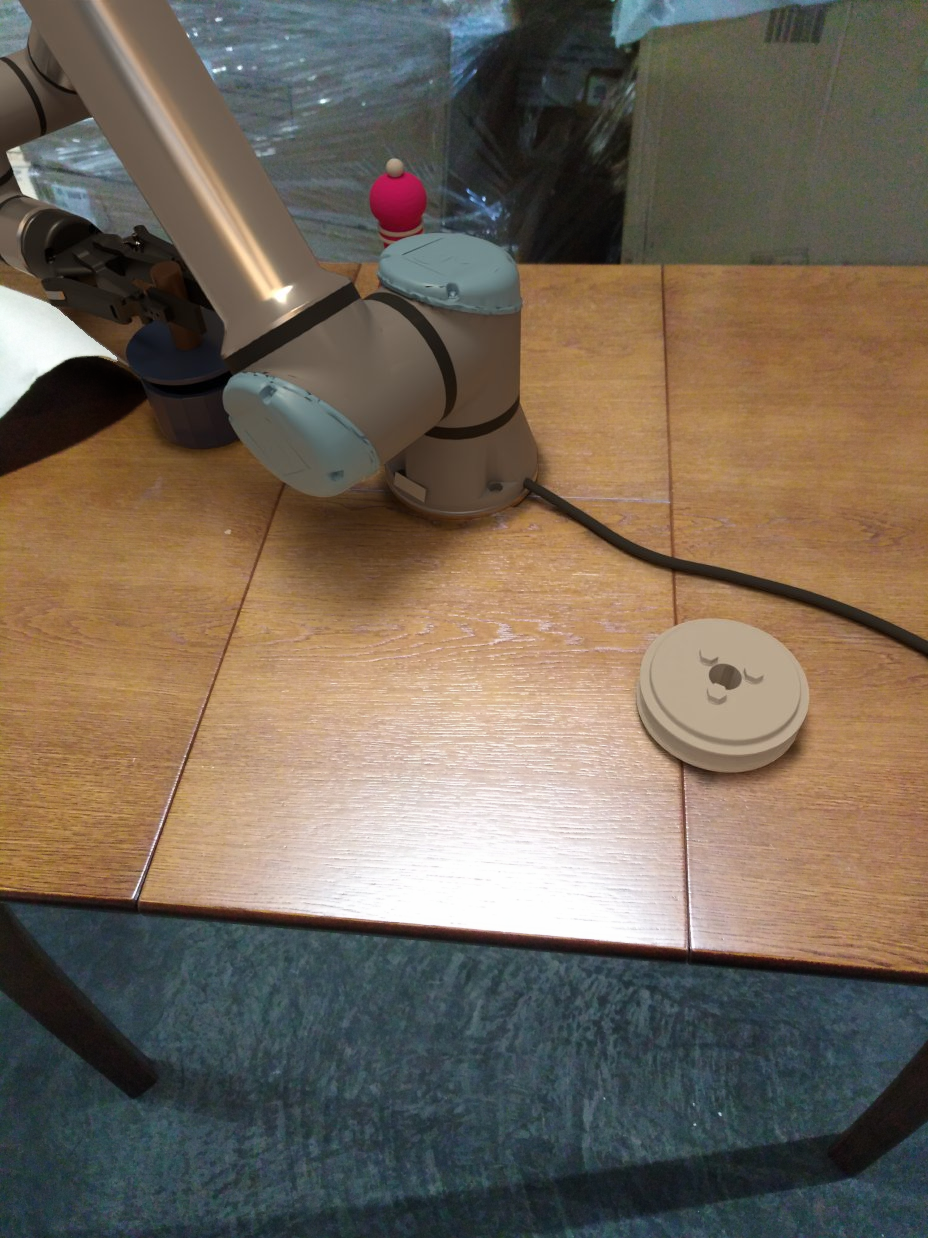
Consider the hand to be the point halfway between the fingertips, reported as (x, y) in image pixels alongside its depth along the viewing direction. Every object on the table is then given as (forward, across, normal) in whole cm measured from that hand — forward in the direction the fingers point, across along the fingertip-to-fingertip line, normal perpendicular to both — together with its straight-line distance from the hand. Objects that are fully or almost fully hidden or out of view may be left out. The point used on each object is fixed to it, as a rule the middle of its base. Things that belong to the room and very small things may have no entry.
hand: (213, 311), depth 84 cm
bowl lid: (-5, 0, -6) cm, 8 cm away
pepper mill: (+4, -24, -14) cm, 28 cm away
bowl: (-5, 0, -14) cm, 15 cm away
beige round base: (+56, +5, -14) cm, 58 cm away
